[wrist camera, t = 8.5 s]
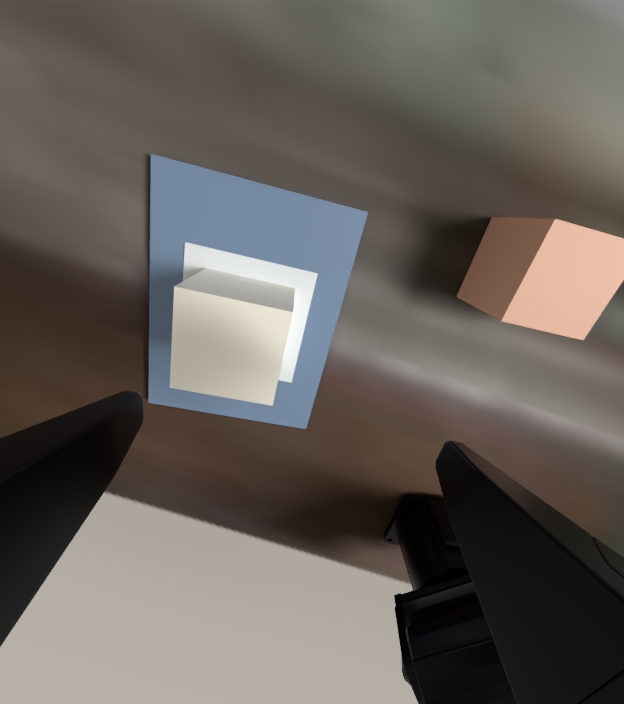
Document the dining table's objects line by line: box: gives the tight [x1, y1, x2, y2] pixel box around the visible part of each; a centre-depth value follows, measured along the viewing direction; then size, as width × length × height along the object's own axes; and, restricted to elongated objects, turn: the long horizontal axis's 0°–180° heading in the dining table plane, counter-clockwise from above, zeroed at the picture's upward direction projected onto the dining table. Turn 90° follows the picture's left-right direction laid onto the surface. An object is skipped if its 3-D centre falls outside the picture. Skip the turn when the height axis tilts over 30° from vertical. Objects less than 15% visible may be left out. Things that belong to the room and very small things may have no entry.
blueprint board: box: [148, 154, 368, 429], centre depth 20 cm, size 16×12×1 cm
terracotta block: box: [457, 217, 624, 340], centre depth 17 cm, size 5×5×5 cm
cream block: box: [170, 268, 295, 406], centre depth 17 cm, size 6×6×5 cm
